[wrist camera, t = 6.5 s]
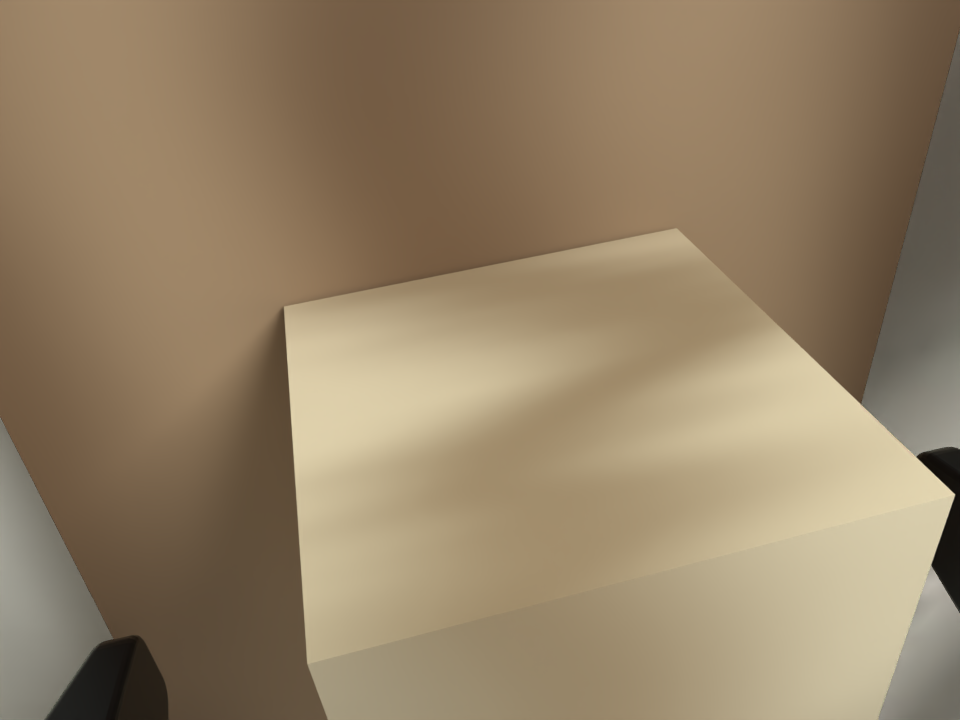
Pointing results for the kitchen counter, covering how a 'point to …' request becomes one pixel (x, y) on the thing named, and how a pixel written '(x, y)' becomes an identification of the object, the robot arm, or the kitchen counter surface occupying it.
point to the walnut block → (387, 237)
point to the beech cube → (594, 500)
